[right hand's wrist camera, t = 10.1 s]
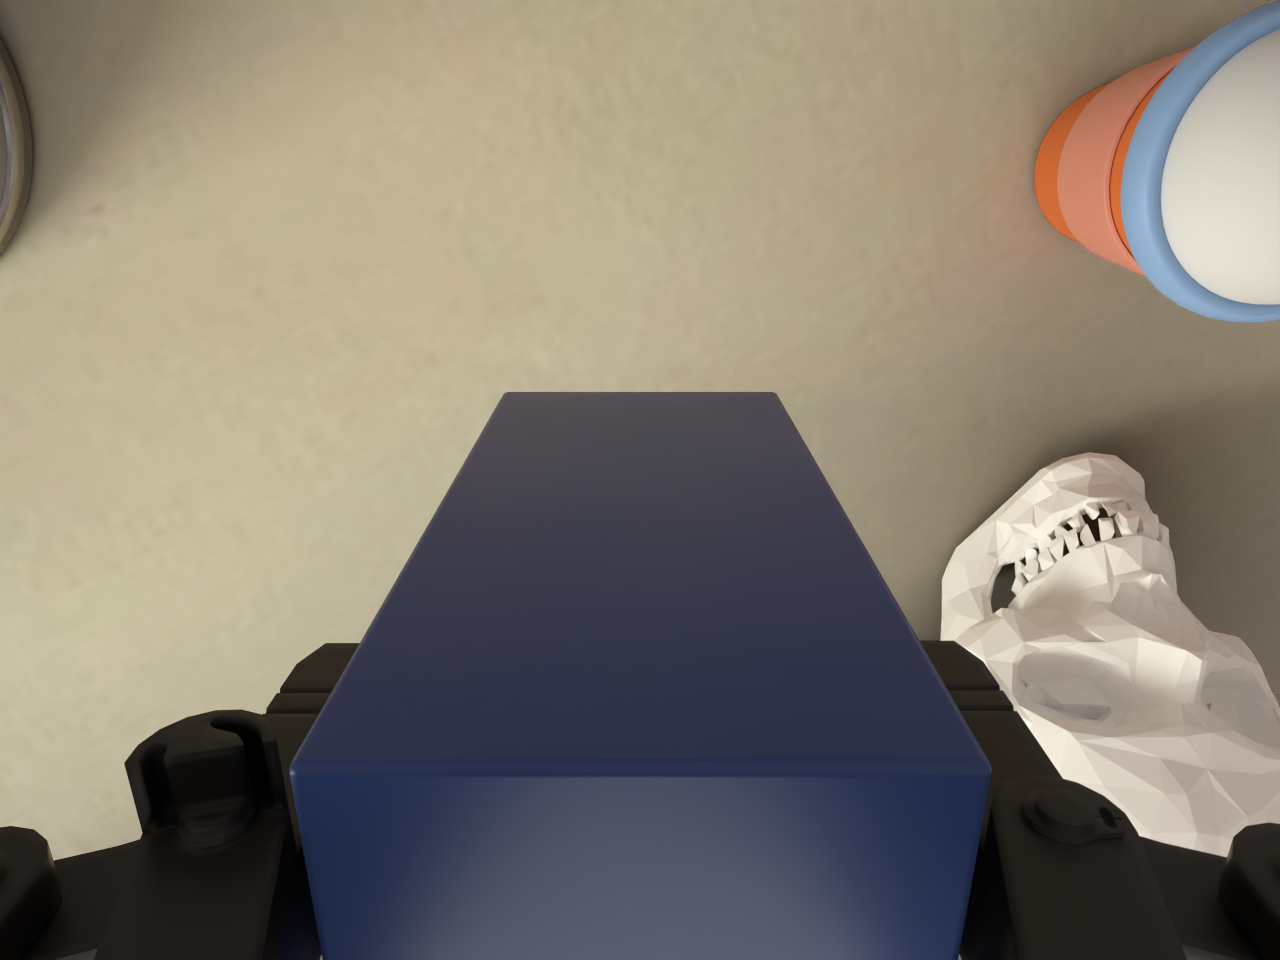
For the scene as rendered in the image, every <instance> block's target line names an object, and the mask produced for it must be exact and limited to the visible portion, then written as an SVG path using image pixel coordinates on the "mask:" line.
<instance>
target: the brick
mask: <svg viewBox="0 0 1280 960" xmlns="http://www.w3.org/2000/svg"><path fill="white" fill-rule="evenodd" d="M289 771H290V780H291V786H292V791H293V797H294V802H295V808H296V813H297V819H298V824H299V830H300V836H301V841H302V847H303V852H304V858H305V863H306V869H307V874H308V880H309V886H310V891H311V897H312V902H313V908H314V913H315V919H316V924H317V930H318V936H319V941H320V947H321V952H322V958H323V960H958V956H959V951H960V945H961V940H962V934H963V929H964V923H965V918H966V912H967V907H968V901H969V895H970V890H971V884H972V879H973V873H974V868H975V862H976V857H977V851H978V846H979V840H980V834H981V829H982V823H983V818H984V812H985V807H986V801H987V796H988V790H989V785H990V779H991V766H990V763H989V760H988V759H987V757H986V755H985V754H984V752H983V750H982V748H981V747H980V745H979V743H978V741H977V740H976V738H975V736H974V735H973V733H972V731H971V729H970V728H969V726H968V724H967V722H966V721H965V719H964V717H963V715H962V714H961V712H960V710H959V709H958V707H957V705H956V703H955V702H954V700H953V698H952V696H951V695H950V693H949V691H948V690H947V688H946V686H945V684H944V683H943V681H942V679H941V677H940V676H939V674H938V672H937V671H936V669H935V667H934V665H933V664H932V662H931V660H930V658H929V657H928V655H927V653H926V652H925V650H924V648H923V646H922V645H921V643H920V641H919V639H918V638H917V636H916V634H915V633H914V631H913V629H912V627H911V626H910V624H909V622H908V620H907V619H906V617H905V615H904V614H903V612H902V610H901V608H900V607H899V605H898V603H897V601H896V600H895V598H894V596H893V595H892V593H891V591H890V589H889V588H888V586H887V584H886V582H885V581H884V579H883V577H882V575H881V574H880V572H879V570H878V569H877V567H876V565H875V563H874V562H873V560H872V558H871V556H870V555H869V553H868V551H867V550H866V548H865V546H864V544H863V543H862V541H861V539H860V537H859V536H858V534H857V532H856V531H855V529H854V527H853V525H852V524H851V522H850V520H849V518H848V517H847V515H846V513H845V512H844V510H843V508H842V506H841V505H840V503H839V501H838V499H837V498H836V496H835V494H834V493H833V491H832V489H831V487H830V486H829V484H828V482H827V480H826V479H825V477H824V475H823V474H822V472H821V470H820V468H819V467H818V465H817V463H816V461H815V460H814V458H813V456H812V454H811V453H810V451H809V449H808V448H807V446H806V444H805V442H804V441H803V439H802V437H801V435H800V434H799V432H798V430H797V429H796V427H795V425H794V423H793V422H792V420H791V418H790V416H789V415H788V413H787V411H786V410H785V408H784V406H783V404H782V403H781V401H780V399H779V397H778V396H777V394H776V393H773V392H507V393H504V395H503V396H502V398H501V400H500V401H499V403H498V405H497V407H496V408H495V410H494V412H493V414H492V415H491V417H490V419H489V421H488V422H487V424H486V426H485V427H484V429H483V431H482V433H481V434H480V436H479V438H478V440H477V441H476V443H475V445H474V446H473V448H472V450H471V452H470V453H469V455H468V457H467V459H466V460H465V462H464V464H463V466H462V467H461V469H460V471H459V472H458V474H457V476H456V478H455V479H454V481H453V483H452V485H451V486H450V488H449V490H448V492H447V493H446V495H445V497H444V498H443V500H442V502H441V504H440V505H439V507H438V509H437V511H436V512H435V514H434V516H433V518H432V519H431V521H430V523H429V524H428V526H427V528H426V530H425V531H424V533H423V535H422V537H421V538H420V540H419V542H418V544H417V545H416V547H415V549H414V550H413V552H412V554H411V556H410V557H409V559H408V561H407V563H406V564H405V566H404V568H403V570H402V571H401V573H400V575H399V576H398V578H397V580H396V582H395V583H394V585H393V587H392V589H391V590H390V592H389V594H388V596H387V597H386V599H385V601H384V602H383V604H382V606H381V608H380V609H379V611H378V613H377V615H376V616H375V618H374V620H373V622H372V623H371V625H370V627H369V628H368V630H367V632H366V634H365V635H364V637H363V639H362V641H361V642H360V644H359V646H358V648H357V649H356V651H355V653H354V654H353V656H352V658H351V660H350V661H349V663H348V665H347V667H346V668H345V670H344V672H343V673H342V675H341V677H340V679H339V680H338V682H337V684H336V686H335V687H334V689H333V691H332V693H331V694H330V696H329V698H328V699H327V701H326V703H325V705H324V706H323V708H322V710H321V712H320V713H319V715H318V717H317V719H316V720H315V722H314V724H313V725H312V727H311V729H310V731H309V732H308V734H307V736H306V738H305V739H304V741H303V743H302V745H301V746H300V748H299V750H298V751H297V753H296V755H295V757H294V758H293V760H292V763H291V766H290V769H289Z"/></svg>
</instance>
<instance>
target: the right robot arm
mask: <svg viewBox="0 0 1280 960" xmlns="http://www.w3.org/2000/svg"><path fill="white" fill-rule="evenodd" d="M32 158H33V154H32V136H31V129H30V122H29V116H28V111H27V107H26V103H25V99H24V95H23V92H22V89H21V86H20V83H19V80H18V76H17V74H16V71H15V69H14V66H13V64H12V62H11V59H10V57H9V55H8V52H7V50H6V48H5V47H4V45H3V43H2V41H1V39H0V254H1V253H2V252H3V250H4V249H5V247H6V246H7V244H8V243H9V242H10V240H11V239H12V237H13V235H14V233H15V231H16V229H17V227H18V225H19V223H20V220H21V218H22V215H23V213H24V210H25V206H26V203H27V199H28V195H29V190H30V183H31V176H32ZM920 643H921V645H922V646H923V648H924V650H925V652H926V653H927V655H928V657H929V658H930V660H931V662H932V664H933V665H934V667H935V669H936V671H937V672H938V674H939V676H940V677H941V679H942V681H943V683H944V684H945V686H946V688H947V690H948V691H949V693H950V695H951V696H952V698H953V700H954V702H955V703H956V705H957V707H958V709H959V710H960V712H961V714H962V715H963V717H964V719H965V721H966V722H967V724H968V726H969V728H970V729H971V731H972V733H973V735H974V736H975V738H976V740H977V741H978V743H979V745H980V747H981V748H982V750H983V752H984V754H985V755H986V757H987V759H988V760H989V763H990V766H991V779H990V785H989V790H988V796H987V801H986V807H985V812H984V818H983V823H982V829H981V834H980V840H979V846H978V851H977V857H976V862H975V868H974V873H973V879H972V884H971V890H970V895H969V901H968V907H967V912H966V918H965V923H964V929H963V934H962V940H961V945H960V951H959V954H960V956H961V959H962V960H1280V824H1277V823H1270V822H1269V823H1262V824H1256V825H1249V826H1246V827H1244V828H1243V829H1242V830H1241V831H1240V832H1238V833H1237V834H1236V835H1235V836H1234V837H1233V840H1232V843H1231V846H1230V849H1229V852H1228V856H1227V857H1223V856H1219V855H1214V854H1210V853H1206V852H1201V851H1197V850H1192V849H1188V848H1184V847H1179V846H1175V845H1170V844H1166V843H1162V842H1158V841H1155V840H1152V839H1148V838H1145V837H1142V836H1139V835H1138V832H1137V830H1136V829H1135V827H1134V826H1133V824H1132V823H1131V821H1130V820H1129V818H1128V817H1127V815H1126V814H1125V813H1124V812H1123V811H1122V810H1121V809H1120V808H1118V807H1117V806H1116V805H1115V804H1113V803H1112V802H1111V801H1110V800H1109V799H1107V798H1106V797H1105V796H1104V795H1102V794H1100V793H1098V792H1096V791H1094V790H1092V789H1090V788H1088V787H1086V786H1084V785H1082V784H1080V783H1077V782H1074V781H1070V780H1066V779H1063V778H1062V776H1061V775H1060V773H1059V772H1058V770H1057V769H1056V768H1055V766H1054V765H1053V763H1052V762H1051V760H1050V759H1049V757H1048V756H1047V754H1046V753H1045V751H1044V750H1043V748H1042V747H1041V746H1040V744H1039V743H1038V741H1037V740H1036V738H1035V737H1034V735H1033V734H1032V732H1031V731H1030V729H1029V728H1028V726H1027V725H1026V724H1025V722H1024V721H1023V719H1022V718H1021V716H1020V715H1019V713H1018V712H1017V711H1014V709H1013V704H1012V703H1011V702H1010V700H1009V699H1008V697H1007V696H1006V694H1005V693H1004V691H1003V690H1000V685H999V684H998V682H997V681H996V679H995V678H994V677H993V675H992V674H991V672H990V671H989V669H988V668H987V666H986V665H985V663H984V662H983V661H982V660H980V659H979V658H978V657H976V656H975V655H973V654H972V653H971V652H969V651H968V650H966V649H965V648H964V647H962V646H961V645H959V644H958V643H957V642H955V641H920ZM359 644H360V643H326V644H324V645H323V646H321V647H320V648H319V649H317V650H316V651H314V652H313V653H312V654H310V655H309V656H307V657H306V658H305V659H303V660H302V661H300V662H299V663H298V664H296V666H295V667H294V669H293V670H292V672H291V673H290V675H289V676H288V678H287V679H286V681H285V682H284V684H283V685H282V687H281V688H280V693H277V694H276V695H275V697H274V698H273V700H272V701H271V703H270V704H269V706H268V707H267V711H266V714H263V715H261V714H257V713H253V712H249V711H245V710H216V711H211V712H207V713H203V714H199V715H195V716H190V717H187V718H185V719H182V720H180V721H178V722H175V723H173V724H171V725H169V726H166V727H164V728H162V729H160V730H158V731H157V732H156V733H154V734H153V735H152V736H150V737H149V738H147V739H146V740H145V741H143V742H142V743H140V744H139V745H138V746H137V747H136V748H135V750H134V751H133V752H132V754H131V755H130V756H129V758H128V759H127V760H126V762H125V763H124V764H125V768H126V771H127V775H128V779H129V783H130V787H131V790H132V794H133V798H134V802H135V806H136V809H137V813H138V817H139V821H140V825H141V828H142V832H143V833H142V836H141V839H140V840H137V841H133V842H130V843H126V844H123V845H120V846H116V847H112V848H107V849H103V850H99V851H94V852H90V853H86V854H81V855H77V856H72V857H68V858H64V859H59V860H55V861H53V858H52V855H51V852H50V848H49V845H48V842H47V840H46V839H45V838H43V837H42V836H41V835H40V834H39V833H38V832H36V831H35V830H33V829H27V828H20V827H14V826H8V827H1V828H0V960H319V959H320V957H321V954H322V952H321V947H320V941H319V936H318V930H317V924H316V919H315V913H314V908H313V902H312V897H311V891H310V886H309V880H308V874H307V869H306V863H305V858H304V852H303V847H302V841H301V836H300V830H299V824H298V819H297V813H296V808H295V802H294V797H293V791H292V786H291V780H290V771H289V769H290V766H291V763H292V760H293V758H294V757H295V755H296V753H297V751H298V750H299V748H300V746H301V745H302V743H303V741H304V739H305V738H306V736H307V734H308V732H309V731H310V729H311V727H312V725H313V724H314V722H315V720H316V719H317V717H318V715H319V713H320V712H321V710H322V708H323V706H324V705H325V703H326V701H327V699H328V698H329V696H330V694H331V693H332V691H333V689H334V687H335V686H336V684H337V682H338V680H339V679H340V677H341V675H342V673H343V672H344V670H345V668H346V667H347V665H348V663H349V661H350V660H351V658H352V656H353V654H354V653H355V651H356V649H357V648H358V646H359Z"/></svg>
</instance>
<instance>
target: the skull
mask: <svg viewBox="0 0 1280 960" xmlns="http://www.w3.org/2000/svg"><path fill="white" fill-rule="evenodd" d="M1099 508H1105V510H1106V511H1107V514H1108V516H1109V517H1110V516H1112V515H1113V519H1114V524H1113V519H1111V518H1098V521H1099V529H1100V538H1101V541H1095V540H1094V537H1093V535H1092V533H1091V531H1090V529H1089V526H1088V524H1085V522H1084V520H1083V517H1082V515H1084V514H1086V513H1087V514H1088V516H1089V517H1090V518H1091V519H1092V520H1093V519H1096V518H1097V516H1098V515H1099V514H1100V513H1099V510H1098V509H1099ZM1067 523H1068V524H1069V525H1070V526H1071V527H1072V528H1073V529H1072V530H1070V531H1067V530H1066V529H1065V528H1063V526H1065V525H1066V524H1067ZM1114 525H1115V531H1114ZM1082 529H1083V530H1082ZM1081 530H1082V531H1081ZM1076 531H1077V532H1078V533H1079V532H1080V531H1081V533H1080V539H1081V541H1082V543H1083V544H1084V545H1083V546H1081V547H1080V545H1079V541H1078V537H1077V532H1076ZM1114 532H1116V538H1113V539H1112V537H1113V534H1114ZM1055 536H1056V538H1055ZM1054 538H1055V539H1054ZM1157 538H1158V540H1157ZM1053 539H1054V540H1053ZM1064 539H1065V542H1066V544H1067V547H1068V550H1069V552H1070V553H1068V554H1067V555H1065V556H1064V557H1063V549H1064ZM1038 548H1039V553H1040V554H1039V553H1038V552H1037V551H1036V550H1037V549H1038ZM1025 557H1026V566H1025V565H1024V564H1023V562H1022V560H1023V559H1024V558H1025ZM1010 563H1015V576H1016V578H1015V581H1014V584H1013V586H1012V589H1011V590H1012V591H1013V592H1014V593H1015V595H1016V597H1015V598H1014V599H1013V600H1012V601H1011V603H1010V604H1009V605H1008V608H1000V609H999V610H998V611H996V612H995V613H994V614H993V612H992V607H991V597H992V592H993V587H994V582H995V579H996V576H997V574H998V573H999V571H1000V570H1001V568H1002V566H1003V565H1006V564H1010ZM1024 576H1025V577H1026V578H1027V579H1026V578H1025V577H1024ZM940 641H955V642H957V643H958V644H959V645H961V646H962V647H964V648H965V649H966V650H968V651H969V652H971V653H972V654H973V655H975V656H976V657H978V658H979V659H980V660H982V661H983V662H984V663H985V665H986V666H987V668H988V669H989V671H990V672H991V674H992V675H993V677H994V678H995V679H996V681H997V682H998V684H999V685H1000V690H1003V691H1004V693H1005V694H1006V696H1007V697H1008V699H1009V700H1010V702H1011V703H1012V704H1013V709H1014V711H1017V712H1018V713H1019V715H1020V716H1021V718H1022V719H1023V721H1024V722H1025V724H1026V725H1027V726H1028V728H1029V729H1030V731H1031V732H1032V734H1033V735H1034V737H1035V738H1036V740H1037V741H1038V743H1039V744H1040V746H1041V747H1042V748H1043V750H1044V751H1045V753H1046V754H1047V756H1048V757H1049V759H1050V760H1051V762H1052V763H1053V765H1054V766H1055V768H1056V769H1057V770H1058V772H1059V773H1060V775H1061V776H1062V778H1063V779H1066V780H1070V781H1074V782H1077V783H1080V784H1082V785H1084V786H1086V787H1088V788H1090V789H1092V790H1094V791H1096V792H1098V793H1100V794H1102V795H1104V796H1105V797H1106V798H1107V799H1109V800H1110V801H1111V802H1112V803H1113V804H1115V805H1116V806H1117V807H1118V808H1120V809H1121V810H1122V811H1123V812H1124V813H1125V814H1126V815H1127V817H1128V818H1129V820H1130V821H1131V823H1132V824H1133V826H1134V827H1135V829H1136V830H1137V832H1138V835H1139V836H1142V837H1145V838H1148V839H1152V840H1155V841H1158V842H1162V843H1166V844H1170V845H1175V846H1179V847H1184V848H1188V849H1192V850H1197V851H1201V852H1206V853H1210V854H1214V855H1219V856H1223V857H1227V856H1228V852H1229V849H1230V846H1231V843H1232V840H1233V837H1234V836H1235V835H1236V834H1237V833H1238V832H1240V831H1241V830H1242V829H1243V828H1244V827H1246V826H1249V825H1256V824H1262V823H1269V822H1270V823H1277V824H1280V707H1279V705H1278V703H1277V701H1276V698H1275V696H1274V695H1273V693H1272V691H1271V689H1270V687H1269V685H1268V682H1267V680H1266V678H1265V675H1264V673H1263V670H1262V668H1261V666H1260V664H1259V663H1258V661H1257V660H1256V658H1255V656H1254V655H1253V653H1252V652H1251V650H1250V649H1249V648H1248V647H1247V645H1246V644H1245V643H1244V642H1243V641H1242V640H1241V639H1240V638H1239V637H1236V636H1232V635H1226V634H1222V633H1218V632H1213V631H1209V630H1207V629H1206V628H1205V627H1204V625H1203V624H1202V623H1201V622H1200V621H1199V620H1198V619H1197V618H1196V617H1195V616H1194V615H1193V614H1192V612H1191V611H1190V610H1189V609H1188V608H1187V607H1186V606H1185V605H1184V604H1183V603H1182V602H1181V600H1180V598H1179V596H1178V594H1177V583H1176V571H1175V563H1174V558H1173V553H1172V550H1171V548H1170V544H1169V529H1168V528H1167V527H1166V526H1164V525H1162V524H1161V523H1159V519H1158V516H1157V514H1153V512H1152V511H1151V509H1150V507H1149V505H1148V503H1147V502H1146V500H1145V484H1144V480H1143V478H1142V476H1141V475H1140V474H1139V473H1138V472H1137V471H1135V470H1134V469H1133V468H1131V467H1130V466H1129V465H1127V464H1126V463H1125V462H1123V461H1122V460H1121V459H1119V458H1118V457H1117V456H1115V455H1108V454H1099V453H1091V452H1089V453H1084V454H1080V455H1075V456H1070V457H1065V458H1062V459H1060V460H1058V461H1056V462H1054V463H1052V464H1050V465H1048V466H1046V467H1044V468H1042V469H1040V470H1039V471H1038V472H1037V473H1036V474H1035V475H1034V476H1033V477H1032V478H1031V479H1030V480H1029V481H1028V482H1027V483H1025V484H1024V485H1023V486H1022V487H1021V488H1020V489H1019V490H1018V491H1017V492H1016V493H1015V494H1014V495H1013V496H1012V497H1011V498H1010V499H1009V500H1007V501H1006V502H1005V503H1004V504H1003V505H1002V506H1001V507H1000V508H999V509H998V510H997V511H996V512H994V513H993V514H992V515H991V516H990V517H989V518H988V519H987V520H986V521H985V522H984V523H983V524H981V525H980V526H979V527H978V528H977V529H976V530H975V531H974V532H973V533H972V534H971V535H970V536H969V537H967V538H966V539H965V540H964V541H963V542H962V543H961V544H960V545H959V546H958V547H957V548H956V549H955V551H954V553H953V555H952V557H951V559H950V561H949V563H948V565H947V567H946V570H945V573H944V575H943V578H942V622H941V639H940Z"/></svg>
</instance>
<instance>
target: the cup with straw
mask: <svg viewBox="0 0 1280 960" xmlns="http://www.w3.org/2000/svg"><path fill="white" fill-rule="evenodd" d="M1034 184H1035V192H1036V196H1037V200H1038V203H1039V206H1040V208H1041V210H1042V212H1043V214H1044V216H1045V217H1046V219H1047V220H1048V221H1049V223H1050V224H1051V225H1052V226H1053V227H1054V228H1055V229H1056V230H1057V231H1059V232H1060V233H1061V234H1063V235H1064V236H1066V237H1068V238H1070V239H1072V240H1074V241H1076V242H1078V243H1081V244H1082V245H1083V246H1084V247H1085V248H1086V249H1088V250H1089V251H1090V252H1092V253H1093V254H1095V255H1097V256H1099V257H1101V258H1103V259H1105V260H1107V261H1110V262H1112V263H1114V264H1117V265H1119V266H1121V267H1124V268H1126V269H1128V270H1131V271H1133V272H1135V273H1138V274H1140V275H1142V276H1145V277H1147V279H1148V280H1149V281H1150V282H1151V283H1152V284H1153V285H1154V286H1155V287H1156V288H1157V289H1158V290H1159V291H1160V292H1161V293H1163V294H1164V295H1165V296H1166V297H1167V298H1169V299H1170V300H1172V301H1173V302H1175V303H1176V304H1178V305H1180V306H1182V307H1184V308H1186V309H1188V310H1190V311H1192V312H1194V313H1197V314H1200V315H1203V316H1205V317H1209V318H1214V319H1218V320H1223V321H1231V322H1250V323H1256V322H1269V321H1276V320H1280V0H1279V1H1275V2H1272V3H1269V4H1267V5H1264V6H1262V7H1259V8H1257V9H1254V10H1252V11H1249V12H1247V13H1245V14H1244V15H1242V16H1240V17H1238V18H1236V19H1234V20H1232V21H1231V22H1229V23H1227V24H1226V25H1224V26H1223V27H1221V28H1219V29H1218V30H1216V31H1215V32H1214V33H1212V34H1211V35H1210V36H1208V37H1207V38H1206V39H1204V40H1203V41H1202V42H1200V43H1199V44H1198V45H1197V46H1194V47H1192V48H1189V49H1186V50H1183V51H1181V52H1178V53H1175V54H1173V55H1170V56H1167V57H1164V58H1162V59H1159V60H1156V61H1154V62H1151V63H1148V64H1146V65H1143V66H1140V67H1138V68H1135V69H1133V70H1131V71H1129V72H1127V73H1125V74H1123V75H1121V76H1120V77H1118V78H1117V79H1115V80H1114V81H1112V82H1111V83H1108V84H1105V85H1103V86H1100V87H1098V88H1096V89H1093V90H1091V91H1089V92H1088V93H1086V94H1084V95H1082V96H1081V97H1079V98H1078V99H1077V100H1075V101H1074V102H1073V103H1071V104H1070V105H1069V106H1068V107H1067V108H1066V109H1065V110H1064V111H1063V112H1062V113H1061V114H1060V115H1059V116H1058V118H1057V119H1056V120H1055V121H1054V123H1053V124H1052V126H1051V127H1050V129H1049V130H1048V132H1047V134H1046V136H1045V137H1044V140H1043V142H1042V144H1041V147H1040V149H1039V152H1038V156H1037V160H1036V165H1035V174H1034Z"/></svg>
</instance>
